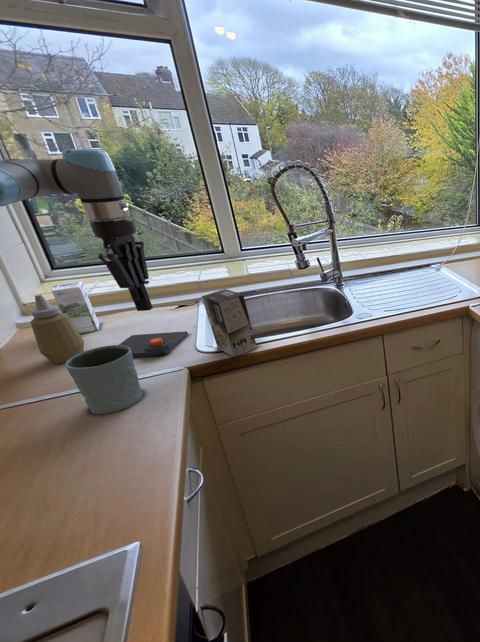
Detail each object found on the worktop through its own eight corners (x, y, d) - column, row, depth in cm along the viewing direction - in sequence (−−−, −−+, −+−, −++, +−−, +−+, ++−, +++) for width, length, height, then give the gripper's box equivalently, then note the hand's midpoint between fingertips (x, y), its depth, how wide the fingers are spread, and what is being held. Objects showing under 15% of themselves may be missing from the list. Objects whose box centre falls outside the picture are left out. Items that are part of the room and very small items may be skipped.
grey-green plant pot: (89, 400, 91) (67, 354, 86) (147, 383, 97) (130, 339, 93) (86, 423, 84) (62, 374, 79) (149, 403, 90) (130, 357, 86)
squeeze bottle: (43, 369, 102) (9, 304, 95) (48, 356, 108) (17, 294, 101) (87, 359, 107) (58, 296, 100) (90, 347, 112) (63, 287, 105)
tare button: (149, 347, 108) (147, 342, 107) (154, 343, 110) (152, 338, 110) (160, 346, 108) (158, 341, 108) (165, 342, 111) (163, 337, 110)
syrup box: (100, 324, 126) (81, 280, 120) (98, 331, 121) (79, 285, 116) (74, 329, 122) (53, 284, 117) (71, 336, 118) (50, 290, 112)
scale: (101, 363, 105) (97, 353, 104) (133, 339, 117) (129, 330, 116) (166, 357, 108) (163, 347, 107) (191, 335, 120) (188, 326, 119)
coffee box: (258, 347, 114) (244, 294, 108) (234, 357, 109) (218, 302, 103) (240, 339, 118) (226, 288, 112) (216, 348, 113) (200, 295, 107)
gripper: (110, 224, 91) (146, 319, 100) (145, 213, 102) (175, 299, 112) (70, 225, 89) (111, 321, 99) (110, 214, 101) (143, 301, 110)
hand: (145, 309), depth 105 cm, fingers closed
